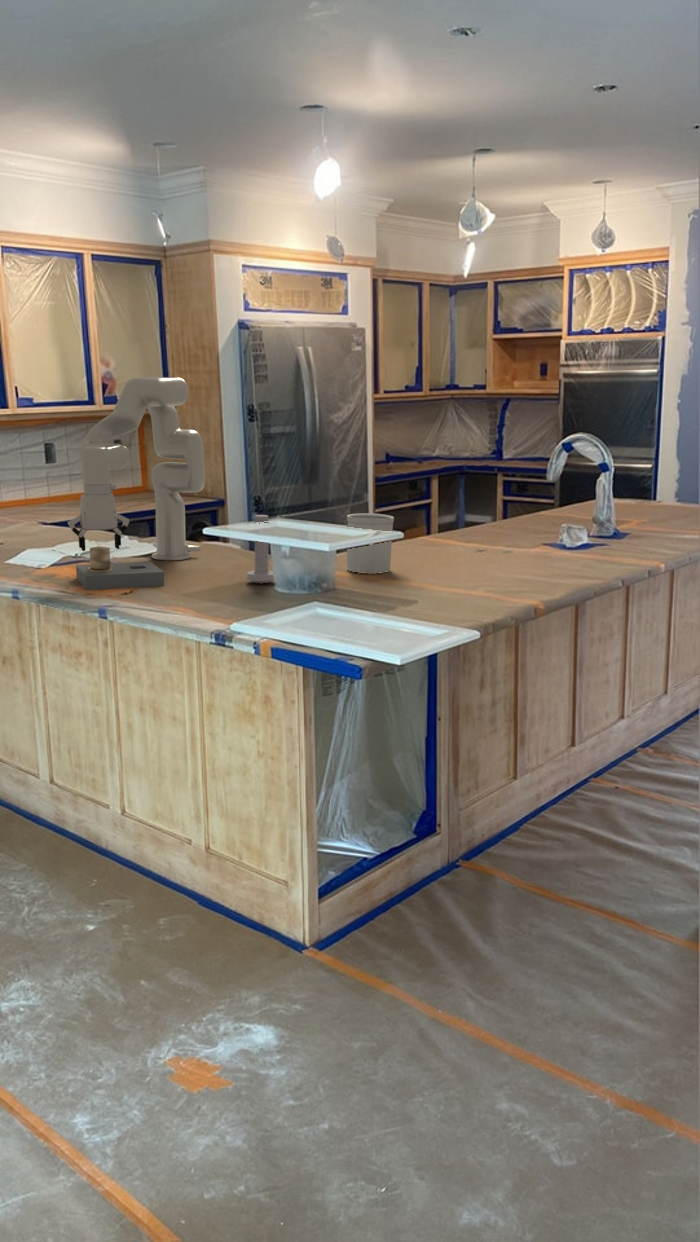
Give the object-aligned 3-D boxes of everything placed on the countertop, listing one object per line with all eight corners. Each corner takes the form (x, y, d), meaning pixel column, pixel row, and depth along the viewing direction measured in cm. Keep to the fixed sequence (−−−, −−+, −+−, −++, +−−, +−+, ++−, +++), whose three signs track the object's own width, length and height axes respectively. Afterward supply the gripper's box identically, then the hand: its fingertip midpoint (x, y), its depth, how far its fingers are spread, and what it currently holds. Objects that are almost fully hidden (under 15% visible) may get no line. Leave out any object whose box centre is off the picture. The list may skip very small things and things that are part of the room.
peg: (109, 578, 296) (107, 546, 293) (112, 582, 291) (111, 549, 288) (89, 579, 293) (88, 547, 291) (92, 583, 288) (91, 550, 286)
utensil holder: (375, 565, 330) (376, 511, 326) (401, 572, 318) (403, 517, 314) (337, 568, 322) (338, 514, 318) (362, 576, 310) (363, 520, 306)
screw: (281, 583, 297) (282, 516, 292) (258, 586, 291) (258, 518, 287) (264, 579, 303) (264, 513, 298) (241, 582, 297) (241, 514, 293)
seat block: (150, 574, 307) (149, 560, 306) (163, 585, 291) (163, 571, 290) (76, 578, 298) (75, 564, 297) (86, 590, 282) (85, 575, 281)
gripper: (125, 487, 293) (127, 545, 297) (64, 489, 286) (67, 548, 290) (130, 490, 286) (133, 549, 290) (68, 492, 279) (71, 553, 284)
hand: (100, 549), depth 290 cm, fingers open, 9 cm apart
